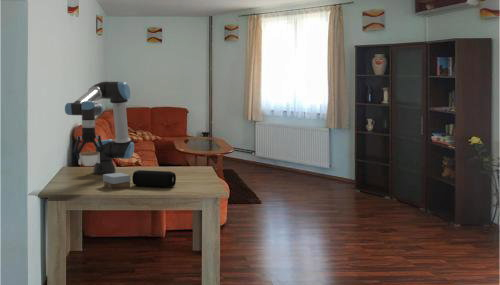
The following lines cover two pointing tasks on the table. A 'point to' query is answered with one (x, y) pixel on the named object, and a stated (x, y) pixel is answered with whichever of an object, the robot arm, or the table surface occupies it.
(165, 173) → the portable speaker
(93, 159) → the lidded jar
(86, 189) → the table surface
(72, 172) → the table surface
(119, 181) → the tower top
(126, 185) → the tower base
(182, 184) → the table surface
